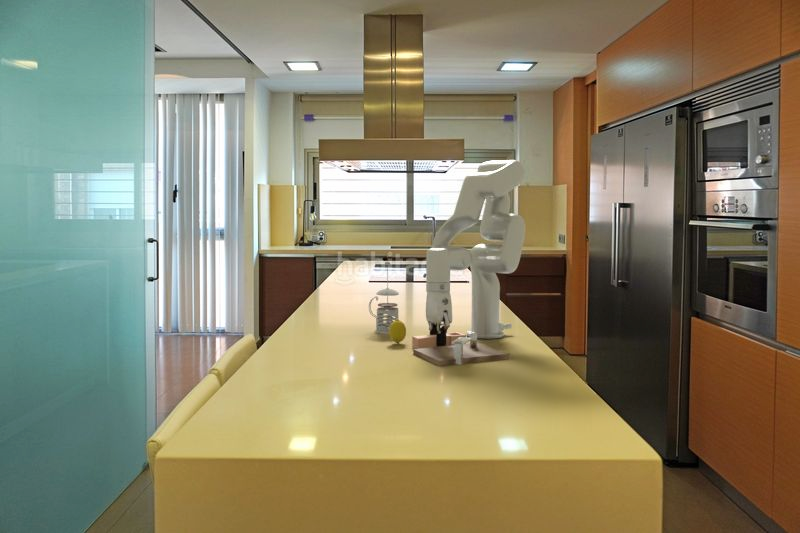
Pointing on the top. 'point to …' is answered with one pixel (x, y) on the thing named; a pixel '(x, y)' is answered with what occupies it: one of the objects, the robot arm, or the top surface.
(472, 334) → the cylinder
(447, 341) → the link
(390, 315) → the french press
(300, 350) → the top surface
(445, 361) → the walnut plate
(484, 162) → the robot arm
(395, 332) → the lemon
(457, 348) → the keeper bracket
